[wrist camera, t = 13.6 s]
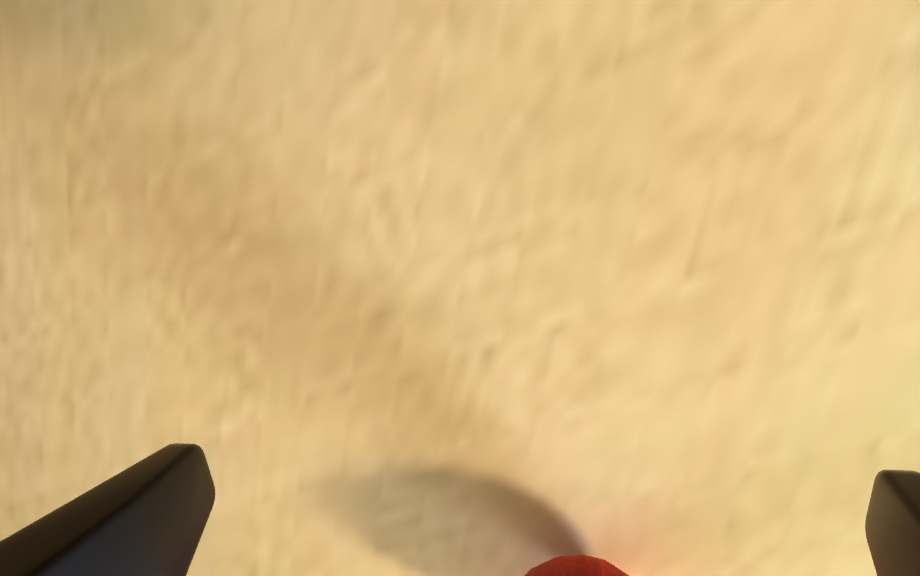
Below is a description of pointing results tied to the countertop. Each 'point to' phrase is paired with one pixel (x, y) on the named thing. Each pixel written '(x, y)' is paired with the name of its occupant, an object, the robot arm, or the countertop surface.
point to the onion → (576, 567)
